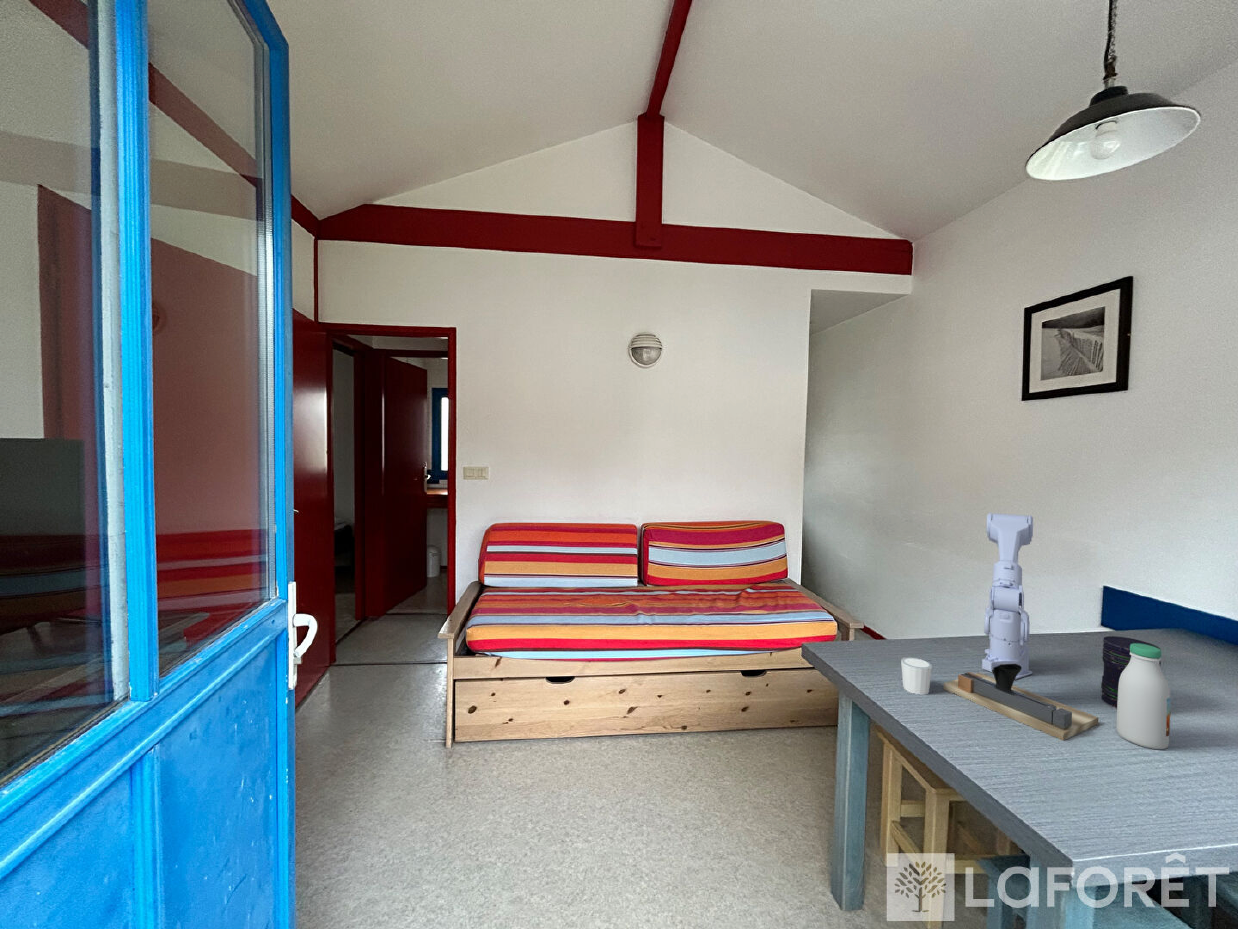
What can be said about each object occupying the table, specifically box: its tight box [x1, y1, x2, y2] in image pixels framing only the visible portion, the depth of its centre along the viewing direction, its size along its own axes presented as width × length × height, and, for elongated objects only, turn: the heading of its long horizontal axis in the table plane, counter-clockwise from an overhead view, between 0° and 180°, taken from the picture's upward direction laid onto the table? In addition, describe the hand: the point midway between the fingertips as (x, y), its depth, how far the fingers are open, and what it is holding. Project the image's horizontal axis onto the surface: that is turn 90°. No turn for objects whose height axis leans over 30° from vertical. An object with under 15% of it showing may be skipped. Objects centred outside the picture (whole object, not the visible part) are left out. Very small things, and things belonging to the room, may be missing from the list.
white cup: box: [900, 657, 933, 696], centre depth 129 cm, size 7×7×7 cm
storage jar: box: [1100, 635, 1162, 709], centre depth 121 cm, size 10×10×15 cm
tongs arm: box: [963, 671, 1057, 710], centre depth 120 cm, size 2×19×3 cm, turn 26°
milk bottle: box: [1116, 643, 1171, 750], centre depth 107 cm, size 8×8×20 cm
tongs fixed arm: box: [957, 673, 1072, 729], centre depth 118 cm, size 4×21×3 cm, turn 25°
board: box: [943, 671, 1099, 741], centre depth 121 cm, size 15×25×2 cm, turn 25°
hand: (1003, 692), depth 122 cm, fingers closed
